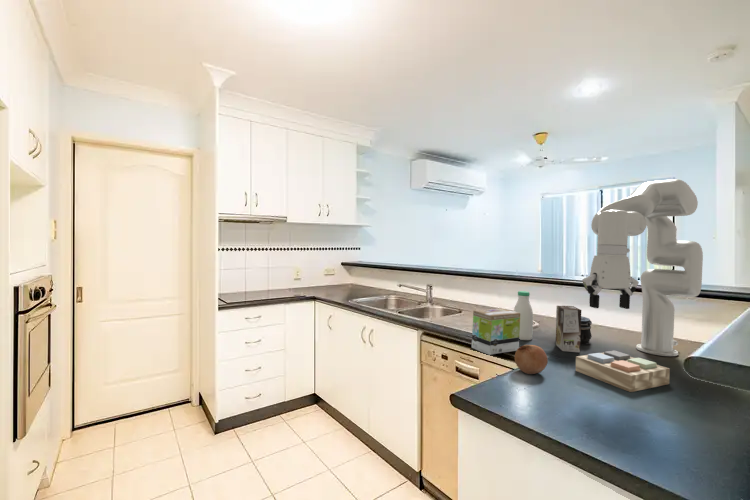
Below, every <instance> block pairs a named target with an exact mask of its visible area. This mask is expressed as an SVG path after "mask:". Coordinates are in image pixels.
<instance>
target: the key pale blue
mask: <svg viewBox="0 0 750 500" xmlns="http://www.w3.org/2000/svg"><path fill="white" fill-rule="evenodd" d="M601 353H602V352H595V353H594V352H593V353H588V354H587V355H588V359H591V360H594V361H596V362H599V363H602V364H605V363H611V362H614V357H611V356H608V355H604V354H601Z"/></svg>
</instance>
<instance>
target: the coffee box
mask: <svg viewBox="0 0 750 500" xmlns="http://www.w3.org/2000/svg"><path fill="white" fill-rule="evenodd" d="M555 314H556V317H555V345H556V347H557V348H558V349H559V350H561V351H562V352H571V353H580V352H581V345H580V335H581V316H582V309H580V308H578V307H576V306H574V305H556V313H555Z"/></svg>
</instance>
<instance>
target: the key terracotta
mask: <svg viewBox="0 0 750 500" xmlns="http://www.w3.org/2000/svg"><path fill="white" fill-rule="evenodd" d="M611 367H614V368H617V369H620V370H623V371H626V372H635V371H640V366H639V365H636V364H633V363H630V362H627V361H623V360H620V361H614V362H611Z"/></svg>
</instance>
